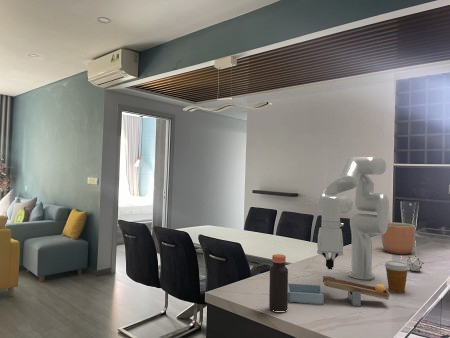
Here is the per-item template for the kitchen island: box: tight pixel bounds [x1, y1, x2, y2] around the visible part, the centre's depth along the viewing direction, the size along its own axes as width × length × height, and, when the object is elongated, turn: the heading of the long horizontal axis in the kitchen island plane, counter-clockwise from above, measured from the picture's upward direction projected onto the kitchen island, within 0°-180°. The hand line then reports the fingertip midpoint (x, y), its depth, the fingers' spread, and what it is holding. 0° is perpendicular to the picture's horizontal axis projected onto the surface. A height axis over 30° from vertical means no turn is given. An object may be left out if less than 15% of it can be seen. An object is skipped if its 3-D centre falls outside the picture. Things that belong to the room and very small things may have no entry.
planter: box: [381, 221, 416, 255], centre depth 231 cm, size 21×21×19 cm
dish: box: [288, 282, 325, 306], centre depth 139 cm, size 12×14×4 cm
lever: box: [322, 275, 391, 300], centre depth 139 cm, size 13×24×4 cm, turn 82°
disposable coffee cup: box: [384, 260, 410, 294], centre depth 151 cm, size 10×10×12 cm
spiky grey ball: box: [406, 255, 425, 273], centre depth 183 cm, size 9×8×10 cm
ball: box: [374, 283, 386, 293], centre depth 135 cm, size 4×4×4 cm
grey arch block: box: [347, 291, 362, 307], centre depth 136 cm, size 9×3×6 cm, turn 172°
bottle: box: [268, 253, 289, 312], centre depth 127 cm, size 7×7×20 cm
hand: (329, 268), depth 145 cm, fingers closed
